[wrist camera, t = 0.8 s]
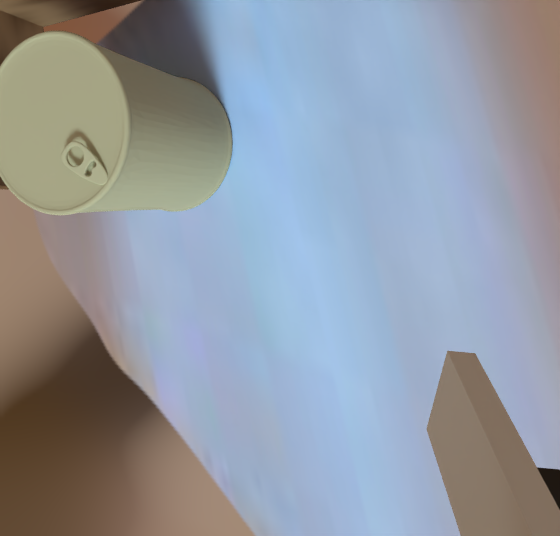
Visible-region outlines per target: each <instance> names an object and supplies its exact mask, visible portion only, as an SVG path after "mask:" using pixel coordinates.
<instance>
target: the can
mask: <svg viewBox="0 0 560 536" xmlns="http://www.w3.org/2000/svg"><path fill="white" fill-rule="evenodd" d="M231 155H232V133H231V127H230V124H229V120H228V117H227V115H226V112H225V111H224V109H223V107H222V105H221V104H220V102H219V101H218V99H217V98H216V97H215V96H214V94H213V93H212V92H210V91H209V90H208V89H207V88H206V87H204V86H203V85H201V84H200V83H198V82H196V81H193V80H191V79H187V78H183V77H176V76H173V75H171V74H168V73H165V72H163V71H160V70H158V69H155V68H153V67H150V66H148V65H145V64H143V63H140V62H138V61H135V60H133V59H130V58H128V57H125V56H123V55H121V54H118V53H116V52H113V51H111V50H109V49H106V48H104V47H102V46H99V45H97V44H95V43H93V42H91V41H89V40H88V39H86V38H84V37H82V36H80V35H77V34H74V33H70V32H66V31H47V32H42V33H39V34H36V35H34V36H32V37H29V38H27V39H26V40H24V41H23V42H21V43H20V44H19V45H17V46H16V47H15V48H14V49H13V50H12V51H11V52H10V53H9V55H8V56H7V57H6V58H5V60H4V61H3V62H2V64H1V66H0V177H1V178H2V180H3V182H4V183H5V184H6V186H7V187H8V188H9V190H10V191H11V192H12V193H13V194H14V195H15V196H16V197H17V198H18V199H19V200H20V201H22V202H23V203H25V204H26V205H28V206H29V207H31V208H33V209H35V210H37V211H40V212H43V213H46V214H51V215H70V214H75V213H83V212H101V211H125V210H165V211H184V210H188V209H191V208H194V207H196V206H198V205H200V204H202V203H203V202H205V201H206V200H207V199H209V198H210V197H211V196H212V195H213V194H214V193H215V191H216V190H217V189H218V188H219V186H220V185H221V183H222V182H223V180H224V178H225V176H226V173H227V171H228V168H229V165H230V160H231Z"/></svg>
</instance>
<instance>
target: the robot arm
mask: <svg viewBox="0 0 560 536" xmlns="http://www.w3.org/2000/svg"><path fill="white" fill-rule="evenodd" d="M427 432H428V435H429V438H430V441H431V444H432V448H433V451H434V454H435V457H436V460H437V463H438V466H439V469H440V472H441V475H442V479H443V482H444V485H445V488H446V491H447V494H448V497H449V500H450V503H451V507H452V510H453V513H454V516H455V519H456V522H457V525H458V528H459V531H460V534H461V536H560V470H558V469H547V468H537V467H536V465H535V463H534V461H533V460H532V458H531V456H530V454H529V452H528V450H527V449H526V447H525V445H524V443H523V441H522V439H521V437H520V436H519V434H518V432H517V430H516V428H515V426H514V424H513V423H512V421H511V419H510V417H509V415H508V413H507V412H506V410H505V408H504V406H503V404H502V402H501V400H500V399H499V397H498V395H497V393H496V391H495V389H494V388H493V386H492V384H491V382H490V380H489V378H488V376H487V375H486V373H485V371H484V369H483V367H482V365H481V363H480V362H479V360H478V358H477V356H476V354H475V353H465V352H454V351H447V354H446V358H445V362H444V366H443V369H442V373H441V377H440V381H439V384H438V388H437V392H436V396H435V399H434V403H433V407H432V410H431V414H430V418H429V422H428V425H427Z"/></svg>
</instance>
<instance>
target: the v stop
mask: <svg viewBox="0 0 560 536" xmlns="http://www.w3.org/2000/svg"><path fill="white" fill-rule="evenodd" d="M137 1H141V0H0V66H1V64H2V62H3V61H4V60H5V58H6V57H7V56H8V55H9V53H10V52H11V51H12V50H13V49H14V48H15V47H16V46H17V45H19V44H20V43H21V42H23V41H24V40H26V39H27V38H29V37H32V36H34V35H36V34H39V33H42V32H44V31H43V27H45V26H48V25H52V24H56V23H60V22H63V21H67V20H70V19H74V18H78V17H82V16H85V15H89V14H93V13H96V12H100V11H104V10H107V9H111V8H114V7H118V6H122V5H126V4H129V3H133V2H137ZM0 189H9V188H8V187H7V186H6V184H5V183H4V182H3V180H2V178H1V177H0Z"/></svg>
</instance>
